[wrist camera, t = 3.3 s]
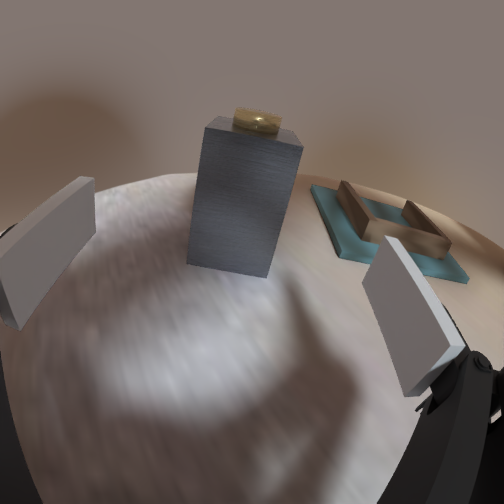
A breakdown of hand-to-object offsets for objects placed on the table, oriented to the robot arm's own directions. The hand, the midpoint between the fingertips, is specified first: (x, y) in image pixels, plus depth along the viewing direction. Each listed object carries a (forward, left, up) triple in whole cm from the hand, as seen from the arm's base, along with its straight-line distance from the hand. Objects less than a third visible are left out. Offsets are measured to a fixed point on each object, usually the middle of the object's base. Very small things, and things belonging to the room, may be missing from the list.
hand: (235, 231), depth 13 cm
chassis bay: (-27, -8, -7) cm, 29 cm away
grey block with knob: (-5, -8, -7) cm, 12 cm away
